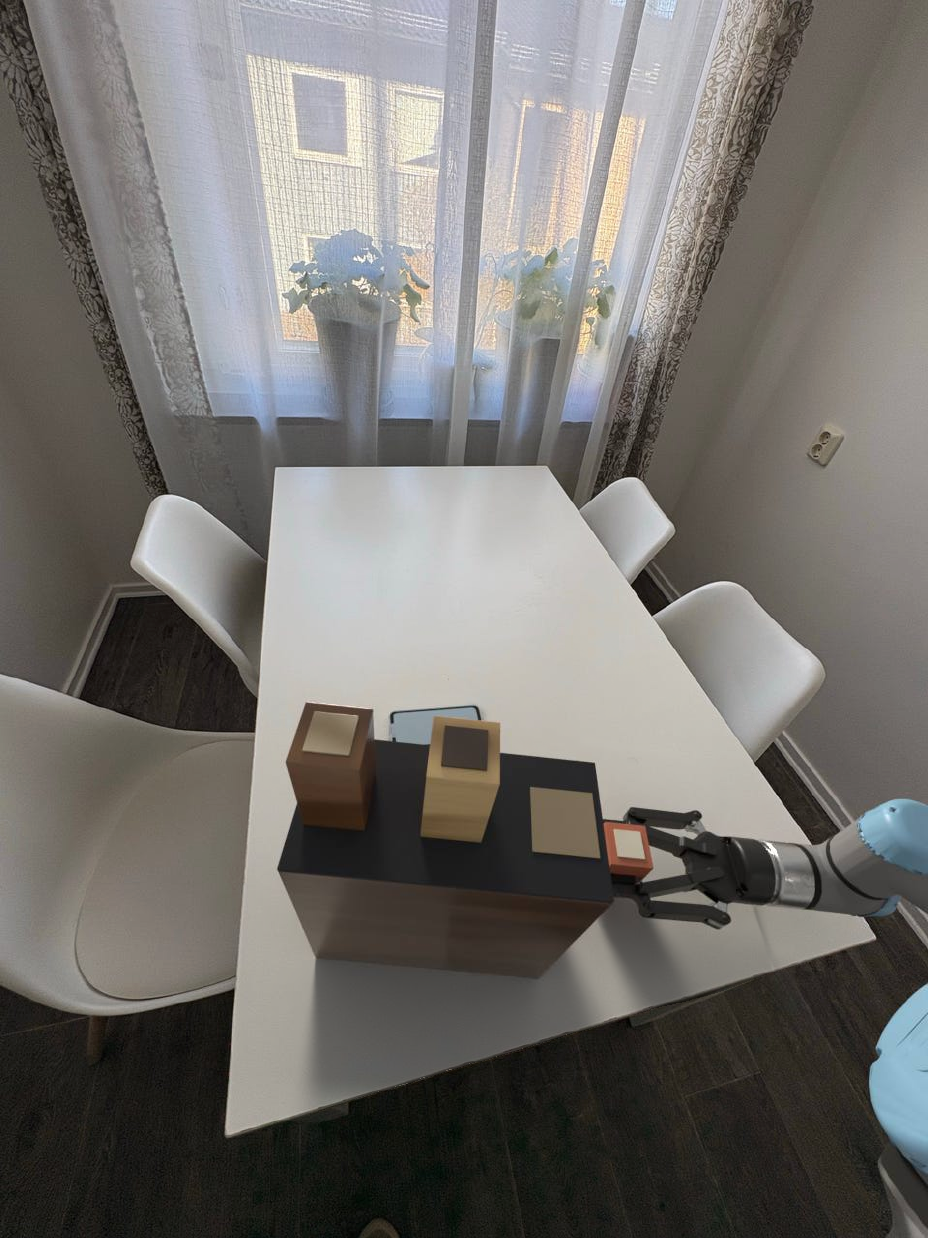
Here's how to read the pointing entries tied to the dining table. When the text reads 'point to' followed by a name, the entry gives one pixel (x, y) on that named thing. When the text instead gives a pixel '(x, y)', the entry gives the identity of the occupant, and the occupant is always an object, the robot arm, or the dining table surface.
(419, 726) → the smartphone
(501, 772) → the black mat
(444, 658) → the dining table surface
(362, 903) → the stand
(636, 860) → the orange block
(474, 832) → the wooden pillar block
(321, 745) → the wooden block
